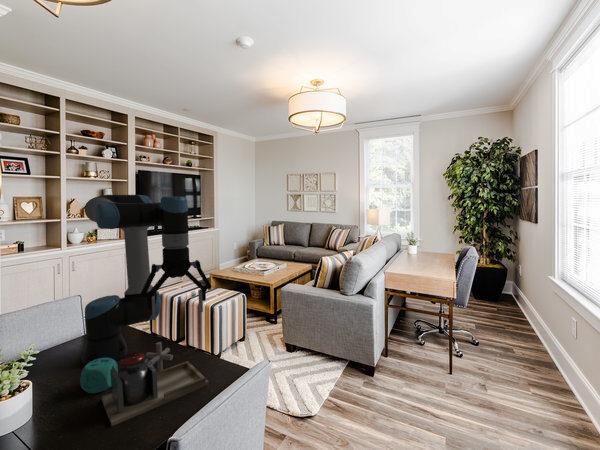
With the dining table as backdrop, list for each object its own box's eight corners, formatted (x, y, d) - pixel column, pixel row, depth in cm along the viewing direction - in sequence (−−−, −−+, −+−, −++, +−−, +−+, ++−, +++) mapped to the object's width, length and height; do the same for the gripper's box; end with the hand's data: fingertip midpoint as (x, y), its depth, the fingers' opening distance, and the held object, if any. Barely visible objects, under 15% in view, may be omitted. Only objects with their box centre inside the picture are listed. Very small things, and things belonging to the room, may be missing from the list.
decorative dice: (107, 392, 98) (106, 368, 97) (80, 395, 96) (78, 370, 96) (118, 378, 106) (117, 356, 105) (93, 380, 104) (92, 358, 104)
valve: (112, 400, 93) (109, 357, 92) (148, 386, 100) (146, 346, 99) (119, 417, 86) (116, 370, 85) (158, 401, 93) (155, 357, 92)
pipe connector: (163, 378, 105) (162, 350, 104) (138, 375, 107) (136, 348, 106) (180, 363, 115) (179, 338, 114) (157, 361, 117) (155, 336, 116)
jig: (101, 400, 94) (101, 391, 93) (190, 366, 112) (190, 359, 112) (111, 426, 82) (111, 417, 82) (208, 384, 101) (208, 376, 101)
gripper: (128, 252, 83) (132, 326, 85) (219, 245, 95) (221, 311, 97) (129, 248, 90) (132, 317, 92) (214, 242, 101) (216, 304, 103)
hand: (178, 314), depth 94 cm, fingers open, 13 cm apart
